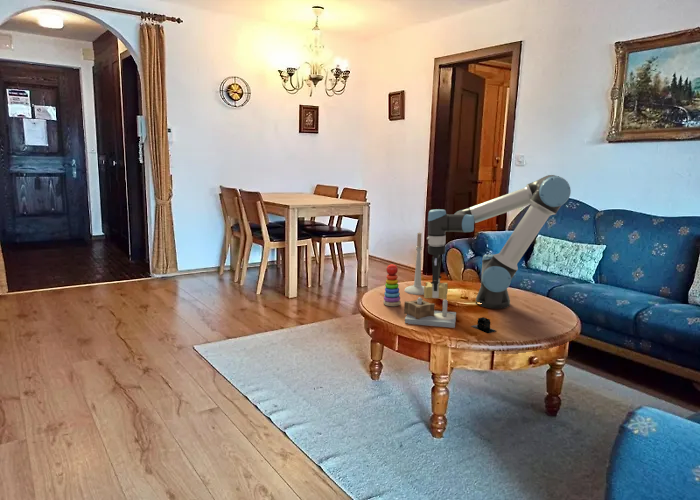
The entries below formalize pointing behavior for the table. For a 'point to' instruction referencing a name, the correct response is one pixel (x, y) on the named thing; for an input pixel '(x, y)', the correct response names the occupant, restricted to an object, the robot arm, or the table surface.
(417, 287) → the candlestick
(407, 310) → the walnut cog
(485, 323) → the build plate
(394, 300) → the stacking toy
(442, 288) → the ochre cog
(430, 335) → the table surface
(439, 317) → the board
